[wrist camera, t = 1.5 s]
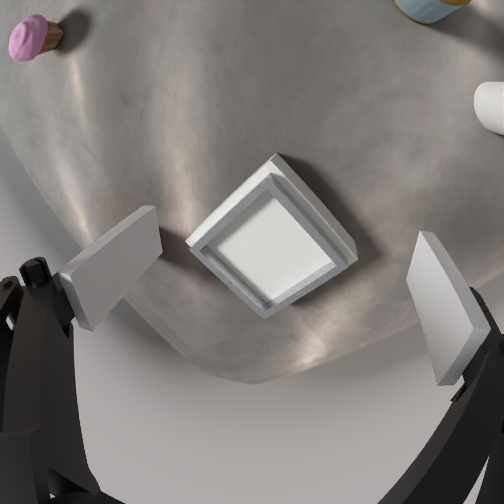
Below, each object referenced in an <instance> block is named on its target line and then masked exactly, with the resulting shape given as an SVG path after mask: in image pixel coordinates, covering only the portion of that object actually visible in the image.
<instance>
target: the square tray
mask: <svg viewBox="0 0 504 504" xmlns="http://www.w3.org/2000/svg"><path fill="white" fill-rule="evenodd" d="M185 242H186V243H187V244H188V245H189V246H190V247H191V248H190V249H189V250H190V251H191V252H192V253H193V254H194V255H195V256H196V257H197V258H198V259H199V260H200V261H201V262H202V263H203V264H204V265H205V266H206V267H207V268H208V269H210V270H211V271H212V272H213V273H214V274H215V275H216V276H217V277H218V278H219V279H220V280H221V281H222V282H223V283H224V284H226V285H227V286H228V287H229V288H230V289H231V290H232V291H233V292H234V293H235V294H236V295H237V296H239V297H240V298H241V299H242V300H243V301H244V302H245V303H246V304H247V305H248V306H250V307H251V308H252V309H253V310H254V311H255V312H256V313H257V314H258V315H259V316H261V317H262V318H263V319H266V318H267V317H269V316H271V315H273V314H274V313H276V312H278V311H279V310H281V309H283V308H284V307H286V306H288V305H289V304H291V303H293V302H294V301H296V300H297V299H299V298H301V297H302V296H304V295H306V294H307V293H309V292H310V291H312V290H314V289H315V288H317V287H318V286H320V285H322V284H323V283H325V282H326V281H328V280H329V279H331V278H332V277H334V276H336V275H337V274H339V273H340V272H342V271H343V270H345V269H346V268H348V266H350V265H351V264H353V263H354V262H356V261H357V260H358V256H357V250H356V245H355V241H354V240H353V239H352V237H351V236H350V235H349V234H348V232H347V231H346V230H345V229H344V228H343V226H342V225H341V224H340V223H339V222H338V220H337V219H336V218H335V217H334V216H333V214H332V213H331V212H330V211H329V210H328V209H327V207H326V206H325V205H324V204H323V203H322V202H321V201H320V199H319V198H318V197H317V196H316V195H315V194H314V193H313V191H312V190H311V189H310V188H309V187H308V186H307V185H306V184H305V183H304V181H303V180H302V179H301V178H300V177H299V176H298V175H297V174H296V173H295V172H294V171H293V169H292V168H291V167H290V166H289V165H288V164H287V163H286V162H285V161H284V160H283V159H282V158H281V157H280V156H279V155H278V154H277V153H276V154H275V155H273V156H272V157H271V158H270V159H269V160H268V161H267V162H266V163H265V164H264V165H262V166H261V167H260V168H259V169H258V170H257V171H256V172H255V173H254V174H253V175H252V176H250V177H249V178H248V179H247V180H246V181H245V182H244V183H243V184H242V185H241V186H240V187H239V188H238V189H237V190H236V191H235V192H233V193H232V194H231V195H230V196H229V197H228V198H227V199H226V200H225V201H224V202H223V203H222V204H221V205H220V206H219V207H218V208H217V209H216V210H215V211H214V212H213V213H212V214H211V215H210V216H209V217H208V218H207V219H206V220H205V221H204V222H203V223H202V224H201V225H200V226H199V227H198V228H197V229H196V230H195V231H194V232H193V233H192V234H191V236H190V237H189V238H188V239H187V240H186V241H185Z"/></svg>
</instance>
